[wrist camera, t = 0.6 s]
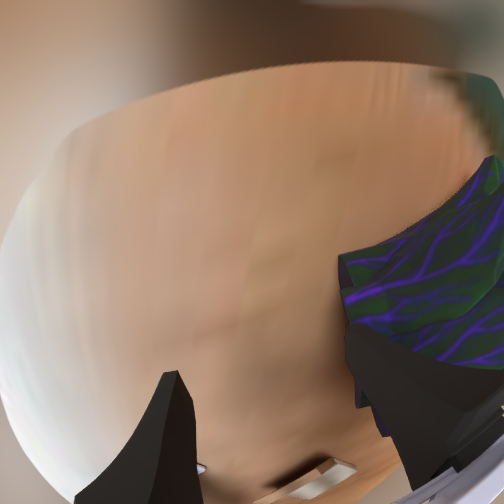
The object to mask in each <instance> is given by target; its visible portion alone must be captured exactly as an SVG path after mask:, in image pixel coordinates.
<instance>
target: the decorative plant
mask: <svg viewBox="0 0 504 504" xmlns="http://www.w3.org/2000/svg"><path fill="white" fill-rule="evenodd" d="M503 164H504V163H503V161H502V160H501V159H500V158H499V157H497V156H496V155H492V156H489V157H487V158H485V159H484V161H483V162H482V164H481V165H480V167H479V168H478V170H477V171H476V172H475V173H474V174H473V176H472V177H471V178H470V179H469V180H468V181H467V182H466V183H465V185H464V186H463V187H462V188H461V189H460V190H459V191H458V192H457V193H456V194H455V195H454V196H452V197H451V198H450V199H449V200H448V201H447V202H446V203H444V204H443V205H442V206H441V207H440V208H438V209H437V210H435V211H434V212H432V213H431V214H429V215H427V216H426V217H424V218H423V219H421V220H420V221H418V222H417V223H415V224H414V225H412V226H411V227H409V228H408V229H406V230H404V231H403V232H401V233H400V234H398V235H396V236H394V237H392V238H390V239H388V240H386V241H383V242H381V243H379V244H377V245H375V246H372V247H368V248H364V249H360V250H356V251H353V252H349V253H345V254H341V255H338V264H339V284H340V288H341V290H340V293H341V298H342V302H343V306H344V309H345V312H346V316H347V318H348V320H349V323H350V325H351V324H354V323H357V322H360V323H362V324H363V325H365V326H367V327H369V328H371V329H372V330H374V331H376V332H378V333H379V334H381V335H383V336H385V337H386V338H388V339H390V340H392V341H394V342H396V343H398V344H400V345H402V346H404V347H406V348H408V349H410V350H413V351H415V352H417V353H419V354H422V355H424V356H427V357H430V358H433V359H436V360H439V361H442V362H446V363H450V364H454V365H459V366H464V367H470V368H478V369H497V370H503V371H504V165H503ZM345 342H346V336H345ZM354 380H355V378H354ZM355 404H356V408H357V409H358V408H363V407H367V406H371V409H372V412H373V415H374V419H375V422H376V426H377V428H378V430H379V432H380V434H381V435H382V437H388V436H390V434H389V432H388V430H387V428H386V426H385V424H384V422H383V420H382V418H381V417H380V415H379V413H378V412H377V410H376V409H375V407H374V406H373V404H372V403H371V402H370V400H369V399H368V397H367V396H366V394H365V393H364V391H363V390H362V389H361V387H360V386H359V384H358V383H357V381H356V380H355ZM503 405H504V403H503V404H502V406H503Z"/></svg>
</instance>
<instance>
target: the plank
mask: <svg viewBox="0 0 504 504" xmlns="http://www.w3.org/2000/svg"><path fill="white" fill-rule="evenodd" d="M334 464H336V463H335V462H334V460H333V459H332V458H330V459H328V460H327V461H325V462H324V463H322V464H321V465H319V466H317V467H316V468H314V469H313V470H311V471H309V472H308V473H306V474H304V475H303V476H301V477H299V478H297V479H296V480H294V481H292V482H290V483H289V484H287V485H285V486H283V487H281V488H279V489H277V490H275V491H274V492H272V493H270V494H268V495H266V496H264V497H262V498H260V499H258V500H256V501H254V502H253V503H254V504H269V503H271V502H273V501H275V500H278V499H280V498H282V497H284V496H286V495H287V494H289V493H291V492H293V491H295V490H297V489H299V488H301V487H302V486H304V485H306V484H308V483H309V482H311V481H313V480H315V479H316V478H318V477H320V476H321V475H323V474H324V473H325V472H326V471H327V470H329V469H330V468H331V467H332V466H333V465H334Z"/></svg>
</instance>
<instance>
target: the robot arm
mask: <svg viewBox="0 0 504 504" xmlns="http://www.w3.org/2000/svg"><path fill="white" fill-rule="evenodd" d="M345 360H346V362H347V364H348V366H349V368H350V370H351V372H352V374H353V376H354V378H355V380H356V381H357V383H358V384H359V386H360V387H361V389H362V390H363V391H364V393H365V394H366V396H367V397H368V399H369V400H370V402H371V403H372V404H373V406H374V407H375V409H376V410H377V412H378V413H379V415H380V417H381V418H382V420H383V422H384V424H385V426H386V428H387V430H388V432H389V434H390V436H391V438H392V440H393V442H394V444H395V446H396V449H397V451H398V453H399V456H400V458H401V461H402V463H403V465H404V468H405V471H406V474H407V476H408V480H409V483H410V486H411V489H412V490H413V492H412V493H410V494H408V495H407V496H405V497H403V498H401V499H399V500H397V501H395V502H393V503H391V504H422V503H423V502H425V501H427V500H428V499H430V500H429V503H428V504H489V503H490V502H492V501H493V500H494V498H496V497H497V496H498V494H500V493H501V492H502V490H503V489H504V417H503V416H502V415H503V414H504V410H503V409H502V408H501V406H502V404H503V403H504V371H503V370H497V369H478V368H470V367H464V366H459V365H454V364H450V363H446V362H442V361H439V360H436V359H433V358H430V357H427V356H424V355H422V354H419V353H417V352H415V351H413V350H410V349H408V348H406V347H404V346H402V345H400V344H398V343H396V342H394V341H392V340H390V339H388V338H386V337H385V336H383V335H381V334H379V333H378V332H376V331H374V330H372V329H371V328H369V327H367V326H365V325H363V324H362V323H360V322H357V323H354V324H351V325H348V326H346V354H345ZM205 470H206V469H205V467H204V466H201V465H199V464H197V450H196V419H195V412H194V405H193V400H192V398H191V396H190V394H189V392H188V390H187V388H186V386H185V384H184V382H183V380H182V378H181V376H180V374H179V372H178V370H176V371H171V372H165V373H163V375H162V377H161V379H160V381H159V383H158V386H157V388H156V390H155V392H154V395H153V397H152V399H151V401H150V403H149V405H148V407H147V409H146V411H145V413H144V415H143V417H142V419H141V420H140V422H139V424H138V426H137V428H136V429H135V431H134V433H133V434H132V436H131V437H130V439H129V440H128V442H127V443H126V445H125V446H124V448H123V449H122V450H121V452H120V453H119V454H118V455H117V457H116V458H115V459H114V460H113V462H112V463H111V464H110V465H109V466H108V467H107V468H106V469H105V470H104V471H103V472H102V473H101V474H100V475H99V476H98V477H97V478H96V479H95V480H94V481H93V482H92V483H91V484H89V485H88V486H87V487H86V488H84V489H83V490H82V491H81V492H79V493H78V494H77V495H75V499H74V504H204V503H203V498H202V493H201V488H200V483H199V477H198V474H200V473H202V472H204V471H205Z"/></svg>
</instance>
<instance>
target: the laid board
mask: <svg viewBox="0 0 504 504" xmlns="http://www.w3.org/2000/svg"><path fill="white" fill-rule="evenodd" d="M333 460H334V462H335V463H336V464H334V465H333V466H332V467H331V468H330V469H329V470H327V471H326V472H325V473H324V474H323V475H321V476H320V477H318V478H316V479H315V480H313V481H311V482H309V483H308V484H306V485H304V486H302V487H301V488H299V489H297V490H295V491H293V492H291V493H289V494H287V495H286V496H291V497H297V498H303V499H309V500H310V499H312V498H314V497H315V496H317V495H319V494H321V493H323V492H324V491H326V490H328V489H330V488H331V487H333V486H335V485H336V484H338V483H339V482H341V481H343V480H344V479H346V478H347V477H349V476H350V475H352V474H353V473H355V472H356V471H358V470H357V468H356V467H355V466H354V465H351V464H349V463H346V462H343V461H341V460H338V459H335V458H333Z"/></svg>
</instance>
